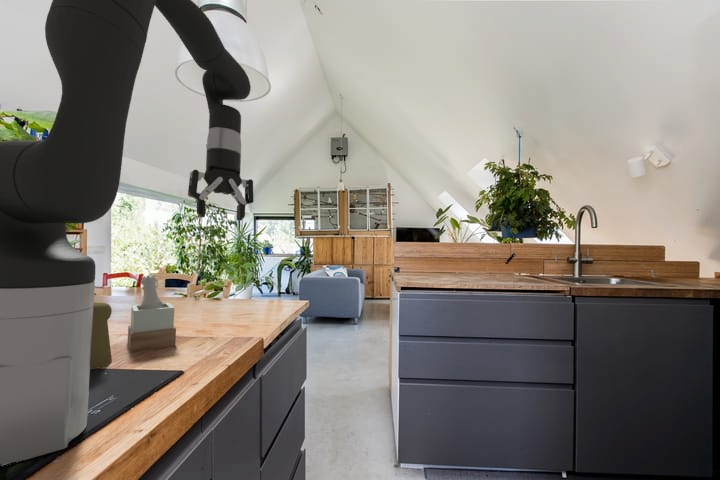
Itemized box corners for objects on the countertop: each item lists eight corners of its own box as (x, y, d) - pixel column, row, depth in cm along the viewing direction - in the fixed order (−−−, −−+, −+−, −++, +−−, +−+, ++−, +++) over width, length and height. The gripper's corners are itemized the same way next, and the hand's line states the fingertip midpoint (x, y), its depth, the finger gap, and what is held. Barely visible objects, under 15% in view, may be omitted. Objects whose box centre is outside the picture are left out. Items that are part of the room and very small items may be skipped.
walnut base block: (175, 346, 68) (176, 328, 68) (129, 353, 62) (130, 333, 63) (169, 337, 74) (169, 321, 74) (127, 343, 69) (128, 325, 69)
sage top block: (173, 328, 68) (174, 307, 68) (132, 333, 63) (134, 310, 63) (168, 321, 73) (169, 302, 73) (130, 325, 69) (131, 305, 69)
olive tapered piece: (57, 371, 52) (61, 306, 53) (83, 359, 58) (87, 300, 59) (97, 370, 53) (101, 306, 54) (119, 358, 59) (122, 300, 60)
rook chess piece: (161, 307, 67) (157, 272, 69) (137, 312, 65) (133, 276, 68) (166, 310, 71) (162, 277, 73) (143, 315, 69) (139, 281, 71)
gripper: (195, 140, 66) (192, 215, 66) (259, 154, 76) (256, 220, 76) (187, 148, 72) (184, 217, 72) (247, 160, 82) (245, 221, 81)
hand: (221, 218), depth 74 cm, fingers open, 8 cm apart
